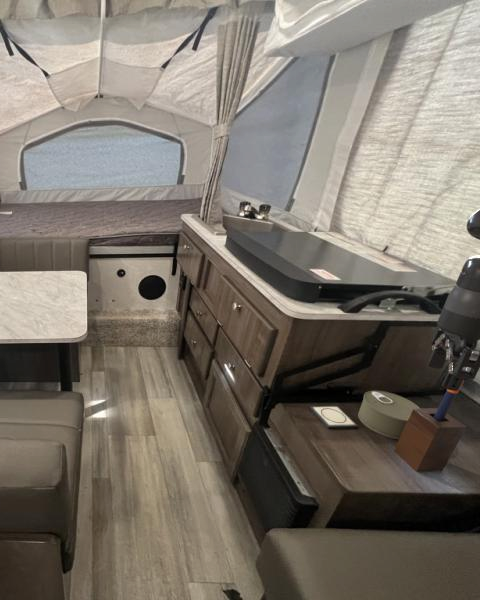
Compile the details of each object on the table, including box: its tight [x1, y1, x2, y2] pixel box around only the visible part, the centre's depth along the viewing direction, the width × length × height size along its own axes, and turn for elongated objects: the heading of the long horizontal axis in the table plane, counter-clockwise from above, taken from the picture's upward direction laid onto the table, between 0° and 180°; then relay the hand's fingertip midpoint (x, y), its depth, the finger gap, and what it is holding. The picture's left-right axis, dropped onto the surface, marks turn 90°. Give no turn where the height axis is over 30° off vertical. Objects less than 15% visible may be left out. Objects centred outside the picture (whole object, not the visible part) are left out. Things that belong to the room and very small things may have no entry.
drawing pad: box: [309, 405, 359, 429], centre depth 91 cm, size 8×8×1 cm
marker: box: [433, 379, 465, 422], centre depth 71 cm, size 2×2×15 cm
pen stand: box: [393, 407, 467, 473], centre depth 75 cm, size 6×6×14 cm
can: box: [357, 390, 421, 441], centre depth 87 cm, size 12×12×7 cm
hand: (441, 377), depth 67 cm, fingers open, 8 cm apart
